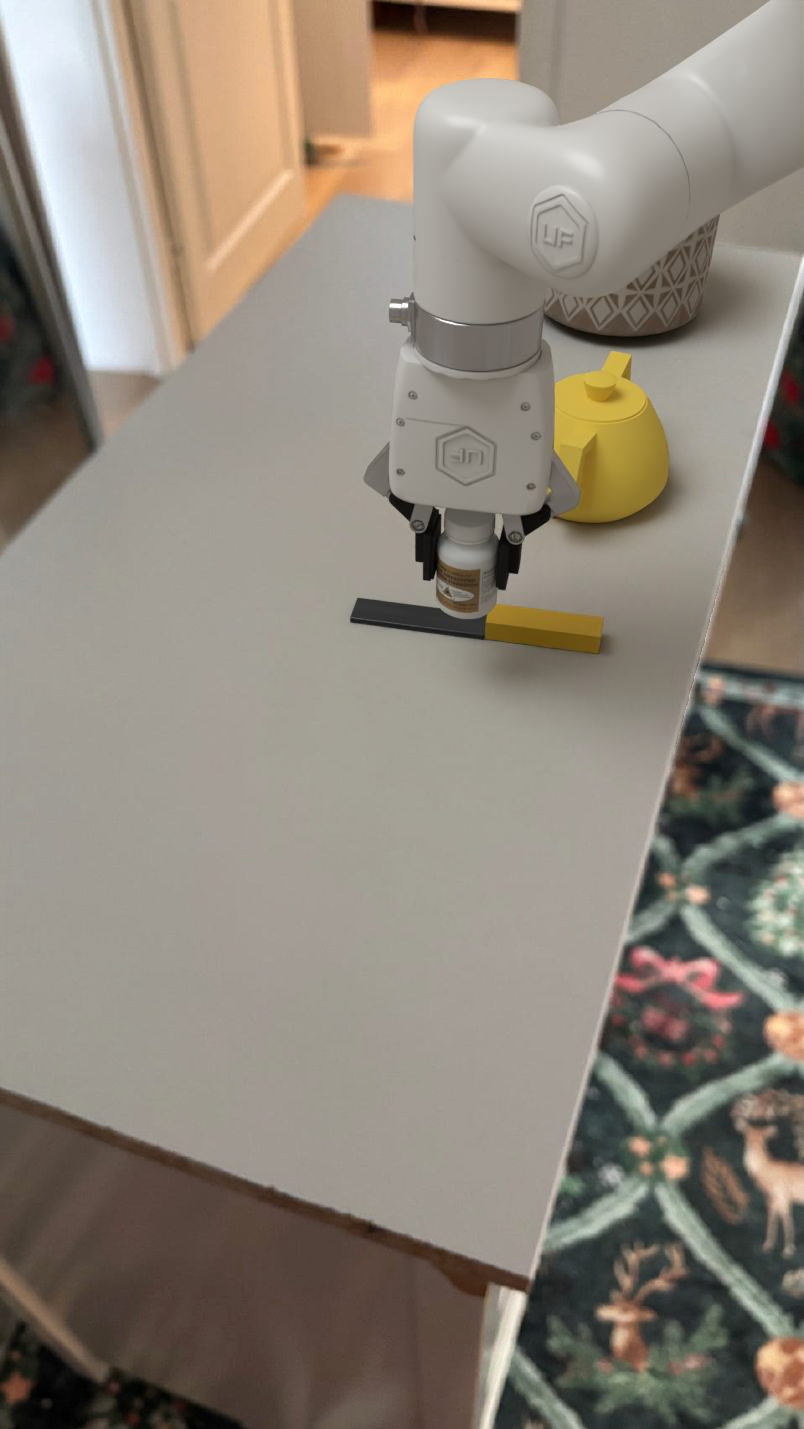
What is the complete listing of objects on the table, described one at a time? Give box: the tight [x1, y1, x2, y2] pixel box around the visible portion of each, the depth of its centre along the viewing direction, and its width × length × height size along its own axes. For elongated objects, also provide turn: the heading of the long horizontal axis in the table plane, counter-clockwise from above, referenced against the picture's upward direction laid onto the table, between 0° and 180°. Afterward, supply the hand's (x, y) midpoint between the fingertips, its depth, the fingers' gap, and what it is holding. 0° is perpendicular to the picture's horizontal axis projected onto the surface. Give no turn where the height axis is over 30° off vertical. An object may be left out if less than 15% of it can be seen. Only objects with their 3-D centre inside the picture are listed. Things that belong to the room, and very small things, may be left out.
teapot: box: [531, 350, 670, 524], centre depth 97 cm, size 20×18×11 cm
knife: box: [349, 597, 604, 655], centre depth 86 cm, size 20×3×2 cm, turn 78°
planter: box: [544, 214, 721, 337], centre depth 119 cm, size 19×19×16 cm
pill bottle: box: [435, 508, 500, 619], centre depth 75 cm, size 4×4×8 cm
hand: (467, 571), depth 76 cm, fingers closed on pill bottle, 4 cm apart
